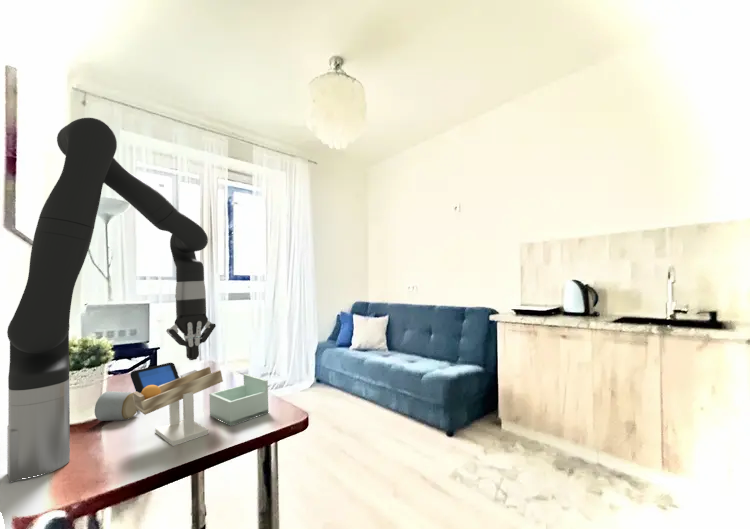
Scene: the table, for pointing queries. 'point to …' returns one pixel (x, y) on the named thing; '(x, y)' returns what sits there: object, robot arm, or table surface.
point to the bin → (240, 401)
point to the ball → (150, 391)
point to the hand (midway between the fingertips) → (193, 359)
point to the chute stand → (181, 423)
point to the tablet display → (154, 376)
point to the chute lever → (177, 389)
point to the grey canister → (115, 406)
